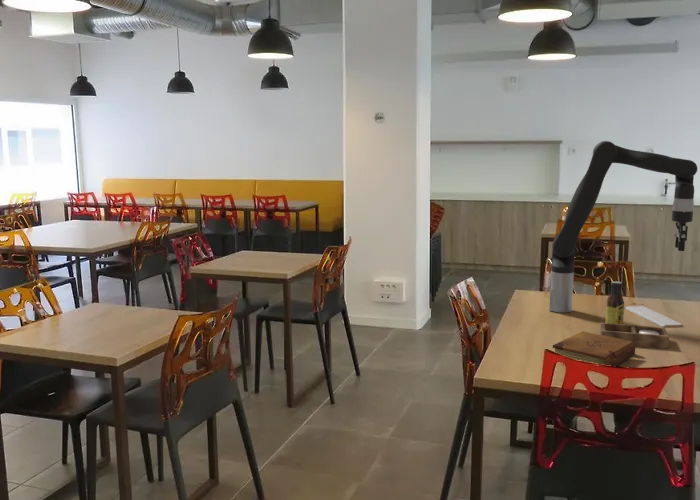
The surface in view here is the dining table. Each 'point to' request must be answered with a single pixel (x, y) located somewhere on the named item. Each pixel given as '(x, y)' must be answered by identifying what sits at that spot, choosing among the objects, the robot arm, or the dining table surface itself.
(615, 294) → the sauce bottle
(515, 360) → the dining table surface
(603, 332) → the caddy
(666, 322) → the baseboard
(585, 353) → the diary
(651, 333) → the white oval piece
